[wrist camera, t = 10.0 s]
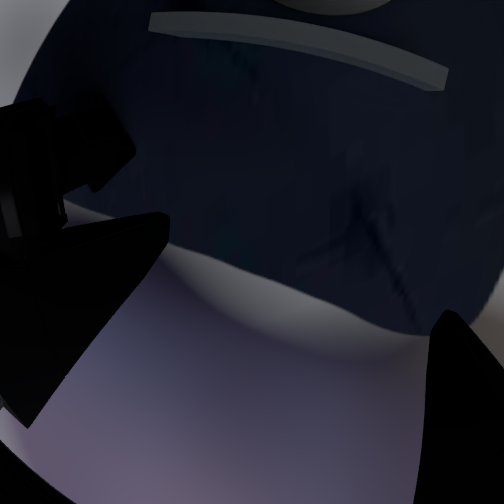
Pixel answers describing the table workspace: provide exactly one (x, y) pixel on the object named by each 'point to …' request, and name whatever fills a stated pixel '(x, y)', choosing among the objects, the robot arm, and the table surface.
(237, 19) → the low wall
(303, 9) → the grey round disc
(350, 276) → the table surface
